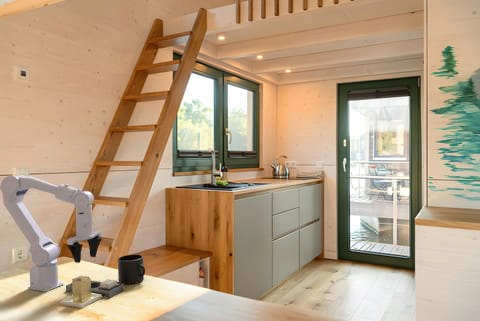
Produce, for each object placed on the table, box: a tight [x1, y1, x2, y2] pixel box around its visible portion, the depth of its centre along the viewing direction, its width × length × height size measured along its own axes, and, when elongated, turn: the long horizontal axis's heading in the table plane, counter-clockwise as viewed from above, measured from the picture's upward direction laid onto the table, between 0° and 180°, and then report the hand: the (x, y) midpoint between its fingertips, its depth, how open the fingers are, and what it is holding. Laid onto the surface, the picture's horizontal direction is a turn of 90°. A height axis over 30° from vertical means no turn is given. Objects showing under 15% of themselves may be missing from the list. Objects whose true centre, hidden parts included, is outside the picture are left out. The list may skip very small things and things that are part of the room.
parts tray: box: [60, 293, 103, 309], centre depth 123 cm, size 9×9×1 cm
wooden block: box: [71, 277, 92, 303], centre depth 122 cm, size 4×4×7 cm
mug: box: [117, 253, 146, 285], centre depth 141 cm, size 9×12×9 cm
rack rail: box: [65, 275, 124, 299], centre depth 132 cm, size 20×7×4 cm, turn 68°
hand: (85, 259), depth 137 cm, fingers open, 7 cm apart
